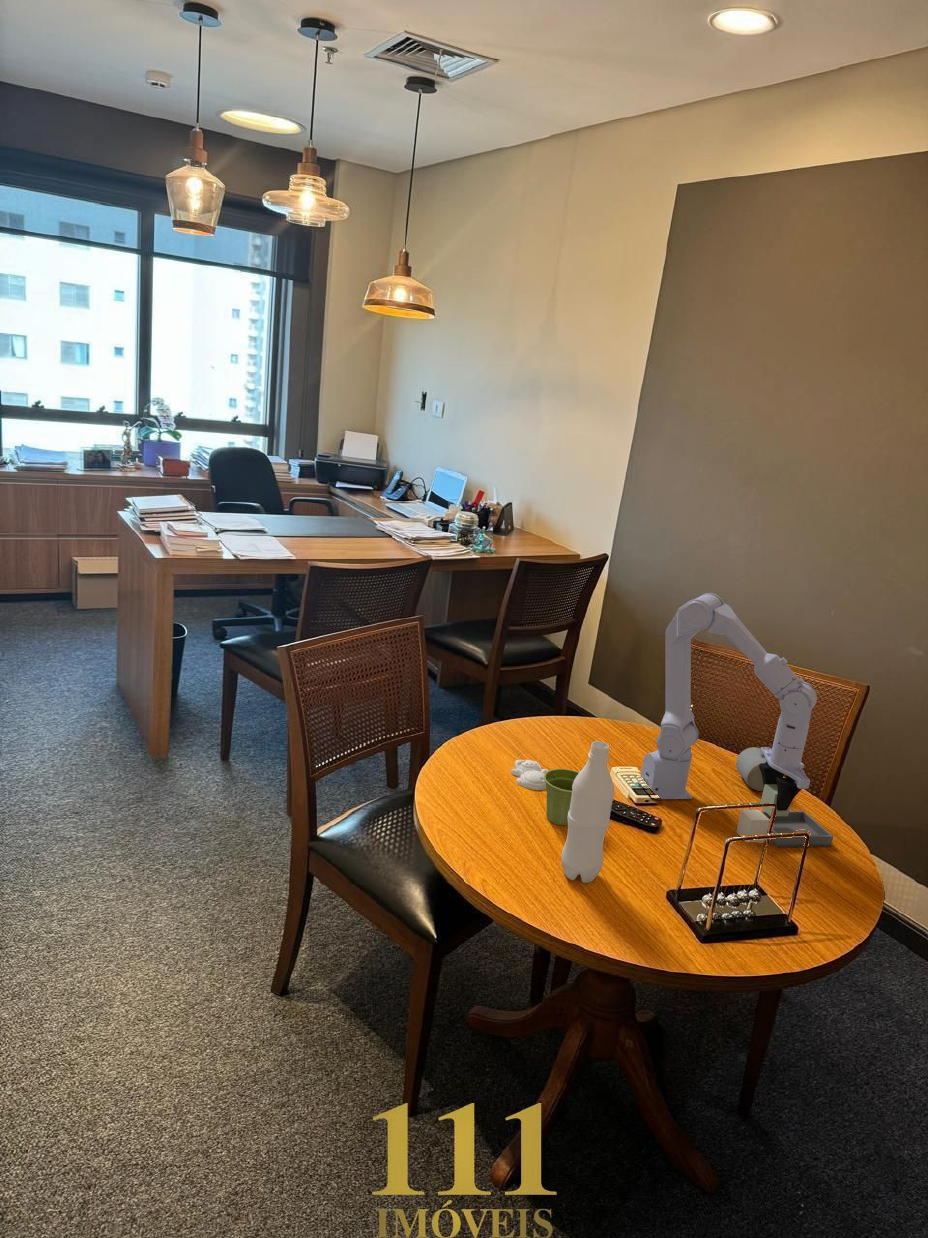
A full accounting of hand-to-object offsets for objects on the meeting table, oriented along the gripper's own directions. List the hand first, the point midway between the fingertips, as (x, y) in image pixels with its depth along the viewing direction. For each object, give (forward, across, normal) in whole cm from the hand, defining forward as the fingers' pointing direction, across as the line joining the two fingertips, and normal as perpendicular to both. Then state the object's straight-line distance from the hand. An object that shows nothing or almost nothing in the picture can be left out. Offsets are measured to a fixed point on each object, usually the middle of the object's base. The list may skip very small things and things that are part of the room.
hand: (775, 804), depth 168 cm
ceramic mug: (+6, +18, -9) cm, 21 cm away
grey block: (+5, -4, +6) cm, 9 cm away
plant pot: (+5, +4, +44) cm, 44 cm away
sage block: (+2, 0, 0) cm, 2 cm away
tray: (+5, -2, -3) cm, 7 cm away
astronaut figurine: (+6, +23, +45) cm, 50 cm away
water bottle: (+5, -14, +46) cm, 49 cm away
